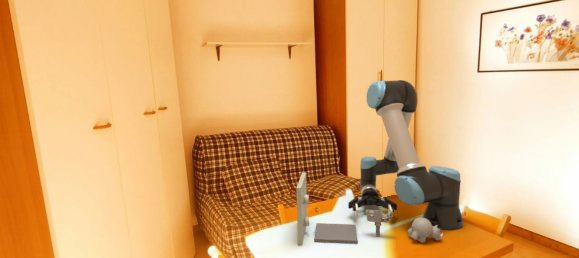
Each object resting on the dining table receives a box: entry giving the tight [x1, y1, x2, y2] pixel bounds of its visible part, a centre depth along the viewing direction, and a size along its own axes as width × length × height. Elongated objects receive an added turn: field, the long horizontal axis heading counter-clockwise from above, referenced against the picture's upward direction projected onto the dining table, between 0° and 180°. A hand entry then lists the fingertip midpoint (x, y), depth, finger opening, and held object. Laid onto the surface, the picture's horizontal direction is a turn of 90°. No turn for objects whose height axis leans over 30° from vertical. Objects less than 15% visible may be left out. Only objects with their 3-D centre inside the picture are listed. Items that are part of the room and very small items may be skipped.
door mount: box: [296, 172, 359, 246], centre depth 131 cm, size 22×20×22 cm
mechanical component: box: [363, 209, 393, 238], centre depth 130 cm, size 3×10×10 cm, turn 79°
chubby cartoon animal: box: [407, 216, 444, 244], centre depth 125 cm, size 7×12×8 cm, turn 86°
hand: (374, 213), depth 137 cm, fingers open, 13 cm apart
